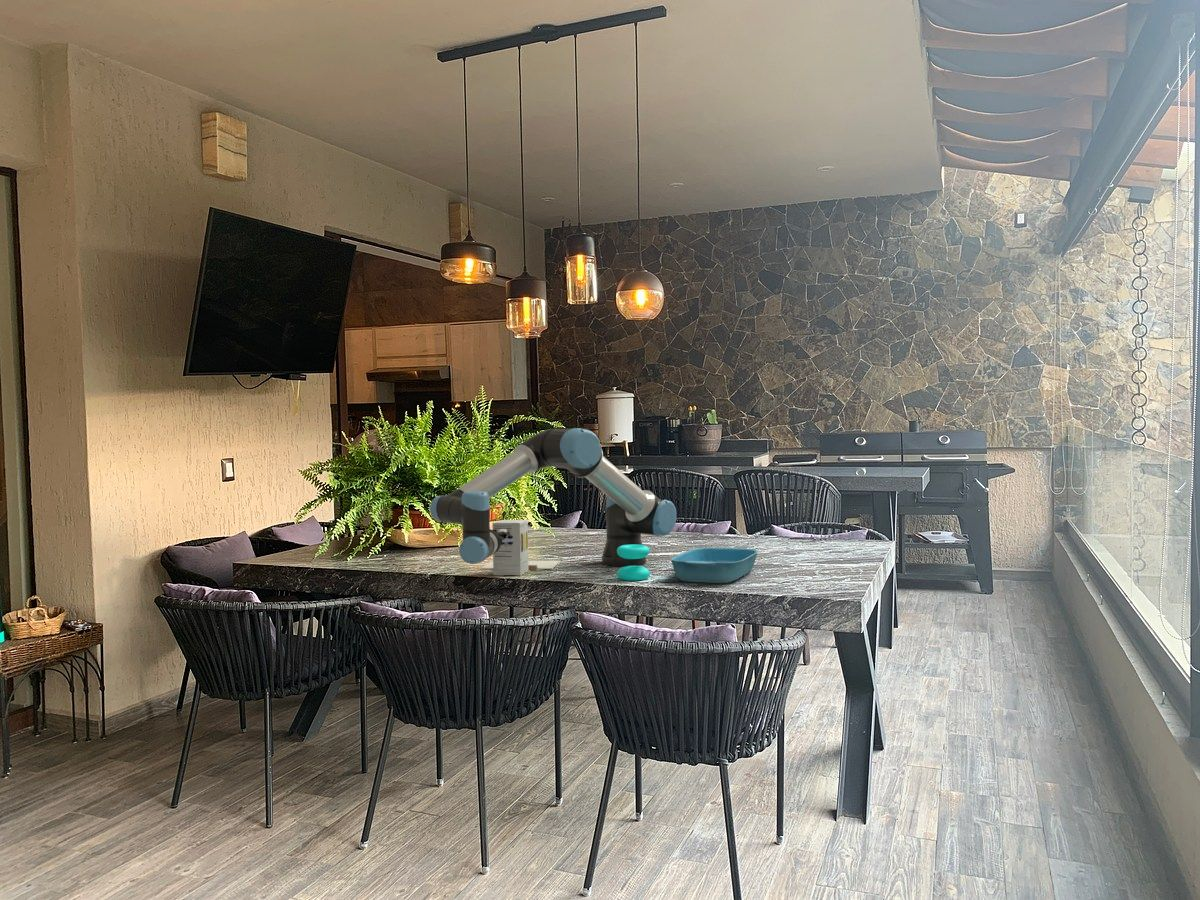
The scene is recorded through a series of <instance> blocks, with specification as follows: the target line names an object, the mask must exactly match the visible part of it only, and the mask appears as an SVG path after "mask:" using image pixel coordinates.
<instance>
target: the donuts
mask: <svg viewBox="0 0 1200 900" xmlns="http://www.w3.org/2000/svg"><path fill="white" fill-rule="evenodd" d="M650 551H651V550H650V547H648V546H647V545H645V544H644V545H643V544H642V545H637V544H631V545H622V546H620V547H618V549H617V554H618V555H619V556H620V557H622V558H626V559H640V558H644V557H646V558H647V556H649V554H650ZM616 573H617V574H616V575H617V577H618V579H620V580H622V581H629V582H632V581H633V582H637V581H644V580H647V579H648V578H649V577H650V574H651V572H650V569H648V568H647V567H646V566H641V565H633V566H621V567H620V568H619V569H618V570H617V572H616Z"/></svg>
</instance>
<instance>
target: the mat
mask: <svg viewBox="0 0 1200 900" xmlns="http://www.w3.org/2000/svg"><path fill="white" fill-rule="evenodd" d="M560 563H561V560H528V571H537V569H553V568H554V567H555V566H556V565H557V564H558V565H559V564H560ZM558 565H557V566H558ZM557 566H556V567H557ZM556 567H555V568H556ZM481 568H483V569H482V570H493V560H490V561H489V562H488V563H486V564H485V565H483V566H481V567H480V569H481ZM555 568H554V569H555ZM554 569H553V570H554Z"/></svg>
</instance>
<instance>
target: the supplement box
mask: <svg viewBox="0 0 1200 900" xmlns="http://www.w3.org/2000/svg"><path fill="white" fill-rule="evenodd" d="M528 523H529V520H526V519H501V520H498V521H495V522H492V525H491V526H492V530H497V531H499V530H501V529H507V532H510V534H511V535H512V536H513V544H512V545H510V544H506V542H505V543H504V544H503V545H501V546H500V548H499V550H498V551H497V552H496V553H494V554H493V555H492V561H493V569H492V570H493V576H503V575H521V576H523V575H524V574H523V573H525V572H526V573H528V572H529V570H528V561H529V531H528V530H529V526H528V525H529V524H528ZM527 571H528V572H527ZM526 573H525V574H526ZM522 574H523V575H522Z"/></svg>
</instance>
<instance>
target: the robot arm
mask: <svg viewBox="0 0 1200 900" xmlns="http://www.w3.org/2000/svg"><path fill="white" fill-rule="evenodd" d="M549 467H555V468H556V467H557V468H565V469H567V470H568V471H569V472H570V473H572V474H573V476H574V477H576V478H585V479H586V480H588V481H589V482H590V483H591V484H592V485H594V486H595V488H597V489H598V490H599V491H601V492H602V493H603V494H604V495H605V496H607V499H606V501H605V526H606V527H605V529H606V530H605V531H606V540H605V541H606V542H605V545H604V547H603V552H602V555H601V563H602V565H606V566H612V567H613V566H617V567H625V566H641V565H644V564H646V563H647V556H646V557H644V558H640V559H626V558H622V557H620V556H619V555H618V554H617V549H618V547H620V546H622V545H631V544H637V545H643V542H642V535H651V536H656V537H665V536H667V535H669V534H670V533H671V532H672V531H673V529H674V527H675V525H676V522H677V509H676V506H675V504H674V503H673V502H672V501H671V500H667V499H660V498H659V497H658V496H657V495H656V494H654V492H652V491H651V490H649V489H648V490H647V489H645V490H642V489H641V487H639V486H638V485H637V484H635V482H633V481H632V480H631V479H630V478H629V477H628V476H626V475H625V473H623V472H622V471H621V470H620V469H619V468H617V467H616V466H615V465H614V464H613V463H612V462H611V461H609V460H608V459H607V458H606V457H605V456H604V452H603V449H602V445H601V442H600V439H599V438H598V435H596V434H595V433H594V432H593V431H591V430H589V429H586V428H581V427H579V428H578V427H573V428H549V429H544V430H543V431H540V432H539V433H536V434H534V435H533V436H531V437H530V438H527V439H526V440H524V441H523V442H522V443H520V444H518V445H517V446H516V447H515V449H514V451H513V452H512V453H510V454H509V455H508V456H505V458H503V459H502V460H500V461H498V462H497V463H495V464H493V465H492V466H490V467H489V468H487V469H486V470H484V471H483V472H482V473H479V474H478V475H477V476H475V477H474V478H472V479H471V480H469V481H468V482H466V483H464V484H462V485H461V486H459V487H458V488H456V489H454V491H452V492H450V493H449V494H447V495H444V494H443V495H438V496H436V497H434V498H433V499H432V500H431V502H430V504H429V514H430V516H431V517H432V518H433V519H434V520H435V521H437V522H441V523H444V524H457V525H461V526H462V530H461V531H462V541H461V542H460V545H459V548H458V552H459V553H458V554H459V556H460V558H461V559H462V560H463V561H464V562H465V563H468V564H470V565H475V564H479V563H480V564H481V563H483V562H484V561H486V559H487V558H490V557H491V556H493V554H494V553H496V552H497V551H498V550H499V548H500V546H501V545H503V544H504V543H505V542H506V544H510V545H512V544H513V536H512V535H511V534H510V532H507V529H501V530H499V531H497V530H493V529H492V528H491V527H490V525H491V524H490V523H491V521H490V519H491V516H490V515H491V514H490V510H491V509H490V508H491V505H490V499H491V498H492V497H494V496H496V495H497V494H498V493H499V492H501V491H503V490H504V489H506V488H507V487H509V486H510V485H511V484H513V483H515V482H516V481H518V480H519V479H520V478H523V476H525V475H527V474H528V473H530V474H534V473H536V472H538V471H539V470H542V469H544V468H549Z"/></svg>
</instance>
